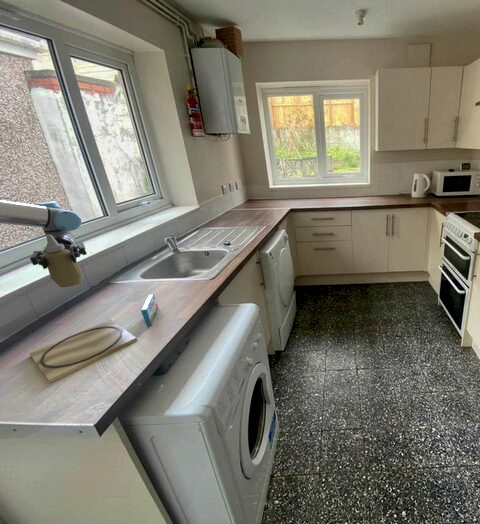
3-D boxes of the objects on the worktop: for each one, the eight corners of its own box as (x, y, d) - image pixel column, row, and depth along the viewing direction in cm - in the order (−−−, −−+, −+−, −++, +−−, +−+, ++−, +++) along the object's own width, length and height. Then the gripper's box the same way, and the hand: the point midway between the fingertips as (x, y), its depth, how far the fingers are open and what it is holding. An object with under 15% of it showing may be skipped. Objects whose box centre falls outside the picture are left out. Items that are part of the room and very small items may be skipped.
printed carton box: (154, 309, 105) (148, 294, 103) (158, 308, 106) (153, 293, 104) (146, 326, 95) (140, 310, 93) (152, 325, 96) (146, 309, 93)
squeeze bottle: (72, 289, 97) (48, 238, 90) (49, 289, 97) (23, 239, 91) (92, 278, 105) (71, 231, 98) (70, 279, 105) (48, 232, 98)
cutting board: (30, 355, 84) (28, 352, 83) (111, 321, 99) (110, 318, 98) (50, 383, 73) (48, 379, 73) (137, 340, 88) (136, 337, 88)
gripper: (97, 249, 117) (100, 263, 101) (29, 262, 105) (21, 281, 89) (90, 231, 114) (92, 243, 98) (19, 243, 102) (9, 259, 86)
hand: (58, 261), depth 94 cm, fingers closed on squeeze bottle, 6 cm apart
